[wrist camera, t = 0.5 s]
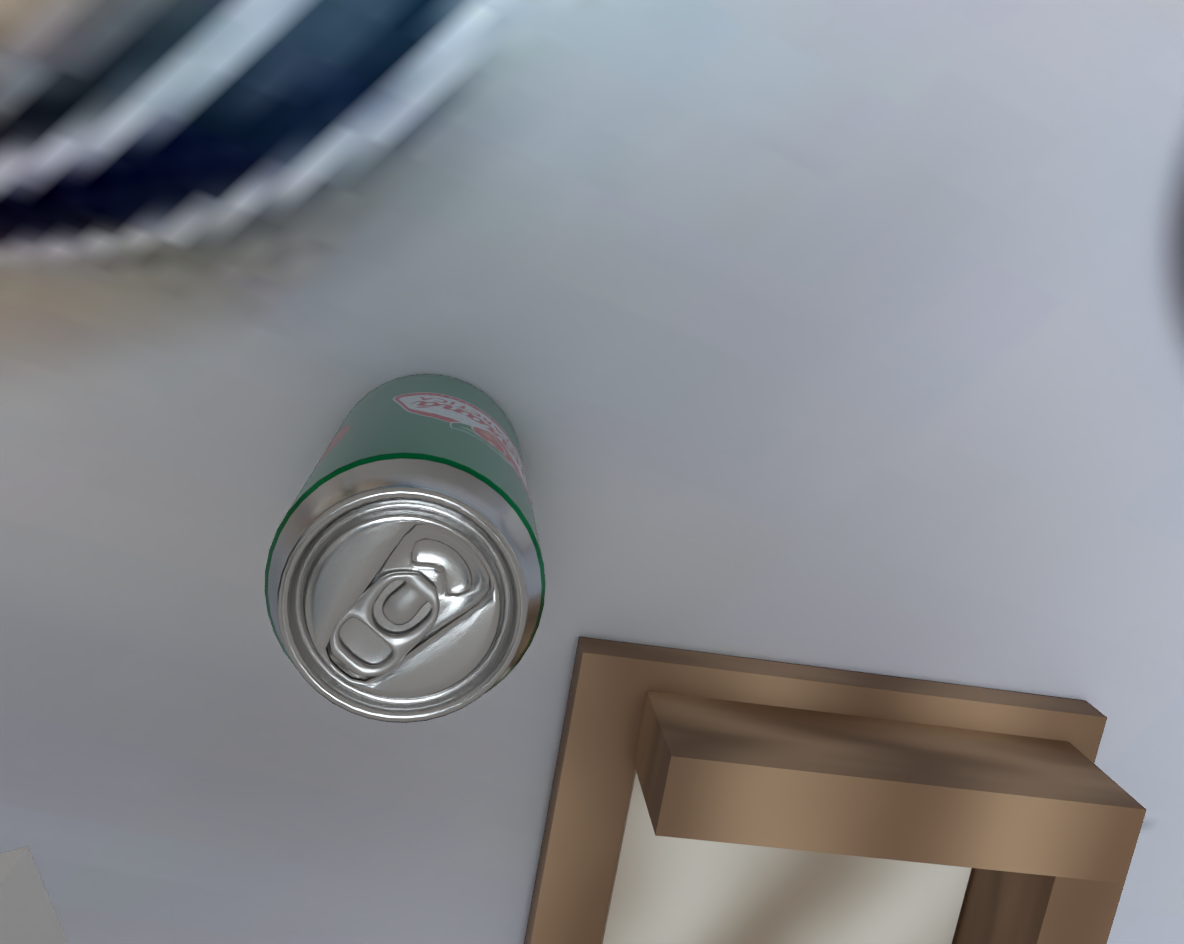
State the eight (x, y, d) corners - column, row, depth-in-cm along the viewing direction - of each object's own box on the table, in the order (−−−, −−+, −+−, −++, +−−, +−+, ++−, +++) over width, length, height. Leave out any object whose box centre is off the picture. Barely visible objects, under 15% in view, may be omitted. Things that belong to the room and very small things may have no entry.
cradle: (509, 1024, 35) (516, 1159, 30) (579, 636, 33) (598, 713, 28) (984, 1061, 37) (1064, 1192, 32) (1085, 701, 35) (1189, 783, 30)
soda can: (558, 460, 31) (609, 603, 20) (431, 585, 32) (408, 798, 20) (426, 332, 30) (397, 404, 19) (296, 463, 31) (189, 614, 19)
